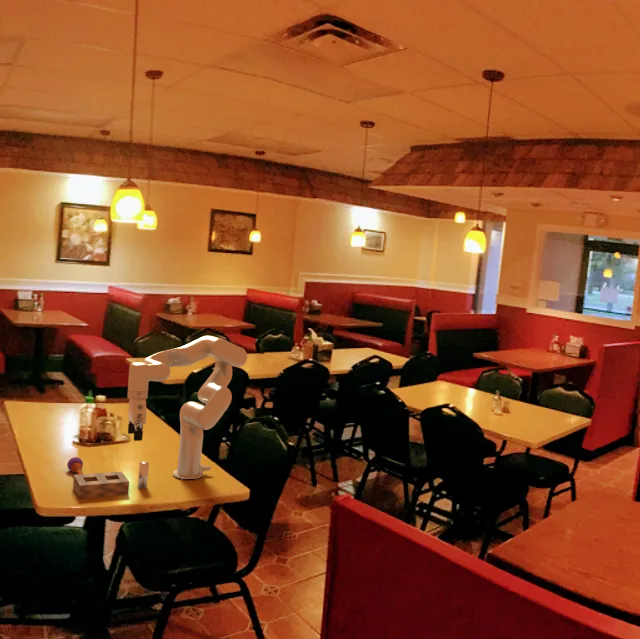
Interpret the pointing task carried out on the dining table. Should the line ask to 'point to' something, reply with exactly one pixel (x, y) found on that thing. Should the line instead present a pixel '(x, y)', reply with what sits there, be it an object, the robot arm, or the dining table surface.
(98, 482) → the walnut block
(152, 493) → the dining table surface
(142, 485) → the steel pin
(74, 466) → the kendama
